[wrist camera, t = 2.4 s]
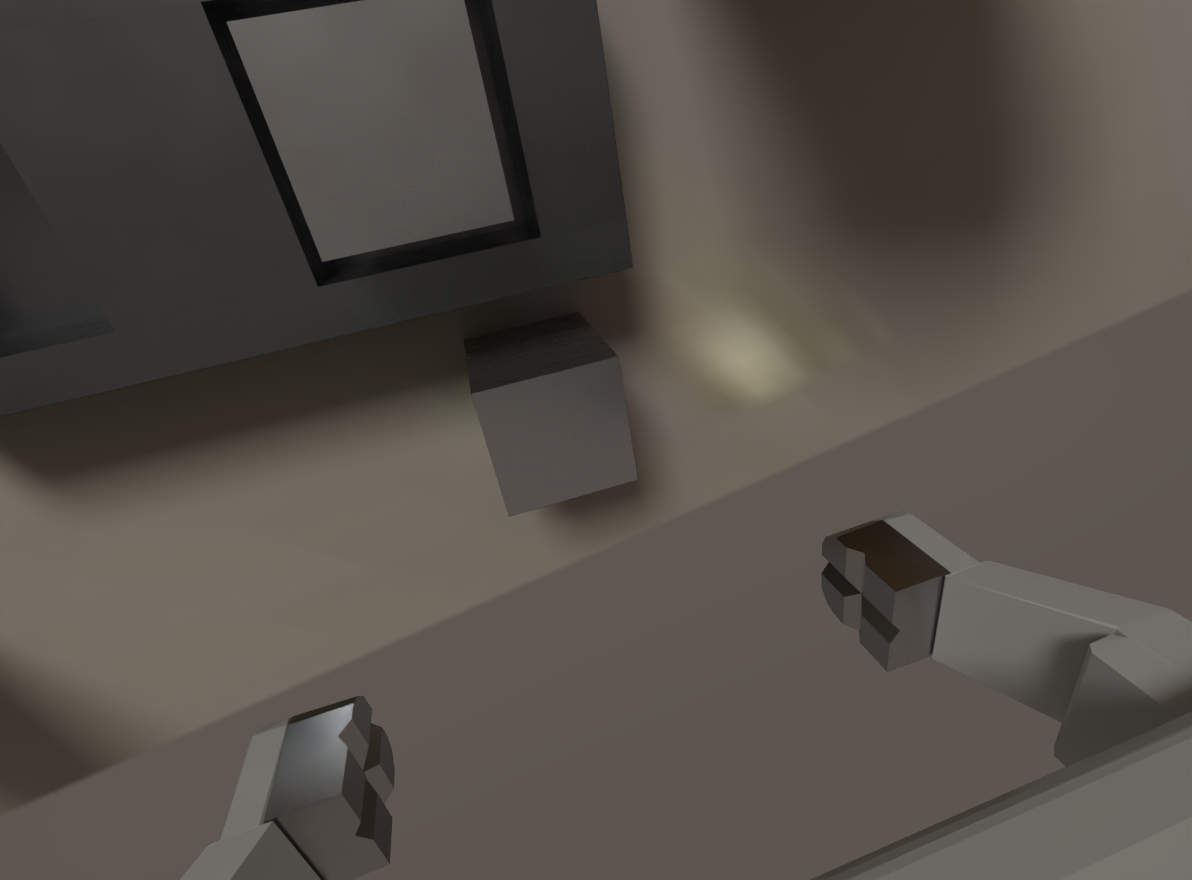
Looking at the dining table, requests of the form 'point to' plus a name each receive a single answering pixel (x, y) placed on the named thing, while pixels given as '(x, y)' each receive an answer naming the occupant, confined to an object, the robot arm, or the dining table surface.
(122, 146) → the peg board
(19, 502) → the dining table surface
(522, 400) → the grey cube
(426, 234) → the grey square peg
